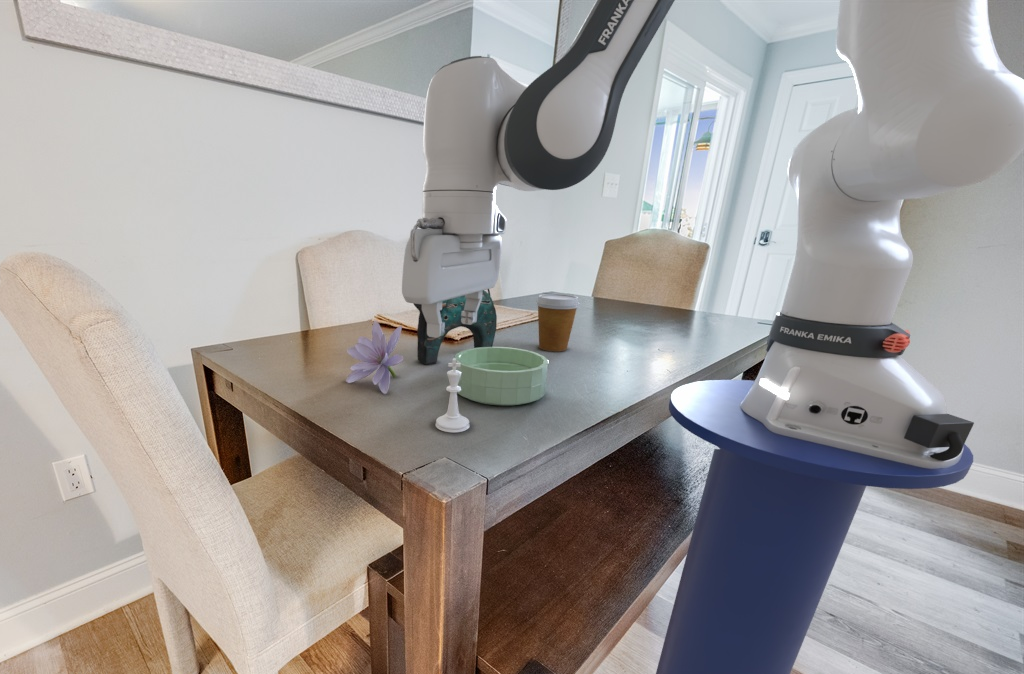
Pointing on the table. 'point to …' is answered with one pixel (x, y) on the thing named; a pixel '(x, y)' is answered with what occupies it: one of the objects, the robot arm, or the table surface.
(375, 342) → the water lily
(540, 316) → the disposable coffee cup
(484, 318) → the ceramic cat
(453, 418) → the chess piece
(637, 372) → the table surface
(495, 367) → the mint green pet bowl
